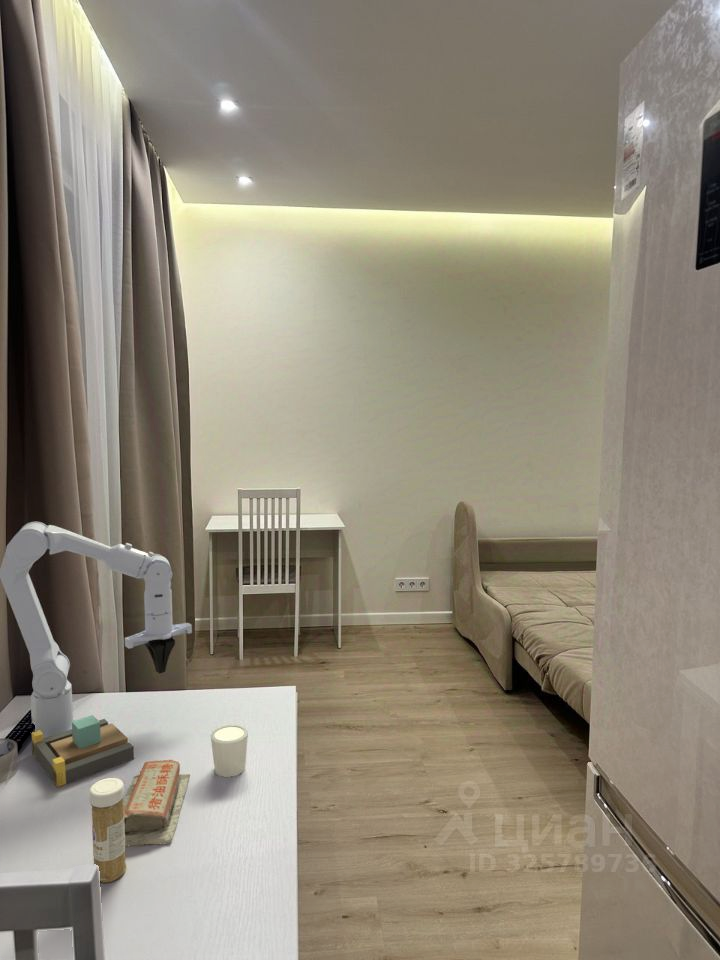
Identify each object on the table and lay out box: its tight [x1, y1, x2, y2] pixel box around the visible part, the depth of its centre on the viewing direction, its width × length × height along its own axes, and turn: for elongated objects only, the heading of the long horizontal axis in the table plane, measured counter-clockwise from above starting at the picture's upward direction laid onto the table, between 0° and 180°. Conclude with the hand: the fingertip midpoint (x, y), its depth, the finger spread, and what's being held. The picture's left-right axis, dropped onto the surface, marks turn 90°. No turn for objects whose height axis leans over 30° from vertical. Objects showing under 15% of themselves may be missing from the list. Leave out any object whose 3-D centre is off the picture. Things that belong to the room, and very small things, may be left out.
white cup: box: [210, 724, 249, 778], centre depth 118 cm, size 7×7×7 cm
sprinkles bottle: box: [89, 777, 127, 883], centre depth 91 cm, size 5×5×14 cm
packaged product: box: [123, 759, 191, 847], centre depth 106 cm, size 18×5×10 cm
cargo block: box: [72, 714, 101, 749], centre depth 123 cm, size 4×4×4 cm
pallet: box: [50, 723, 129, 765], centre depth 123 cm, size 8×12×3 cm, turn 132°
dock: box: [31, 718, 135, 788], centre depth 122 cm, size 15×14×4 cm
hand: (160, 671), depth 139 cm, fingers closed
